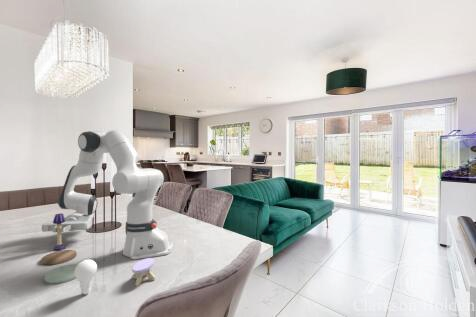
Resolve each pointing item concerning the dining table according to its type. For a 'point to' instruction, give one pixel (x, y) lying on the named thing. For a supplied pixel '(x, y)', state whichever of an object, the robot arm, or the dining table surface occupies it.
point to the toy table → (143, 270)
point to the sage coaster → (61, 274)
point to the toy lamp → (58, 220)
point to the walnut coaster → (58, 257)
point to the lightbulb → (85, 274)
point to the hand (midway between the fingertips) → (58, 230)
